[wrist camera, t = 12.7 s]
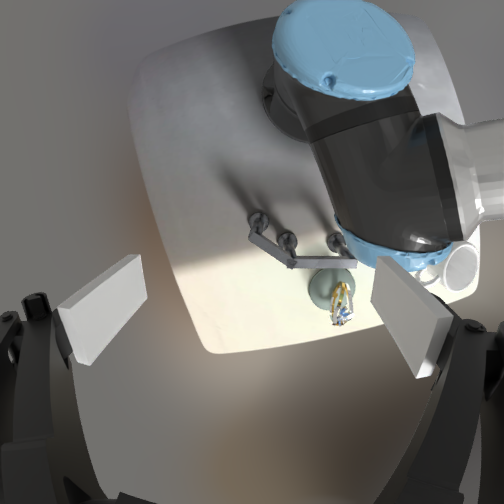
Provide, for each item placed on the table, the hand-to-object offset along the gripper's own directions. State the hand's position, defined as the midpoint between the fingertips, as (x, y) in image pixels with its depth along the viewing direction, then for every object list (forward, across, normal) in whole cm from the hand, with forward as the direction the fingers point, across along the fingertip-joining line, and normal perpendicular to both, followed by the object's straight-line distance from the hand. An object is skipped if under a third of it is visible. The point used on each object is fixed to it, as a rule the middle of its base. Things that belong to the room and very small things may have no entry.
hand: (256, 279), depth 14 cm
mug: (+29, +29, -8) cm, 41 cm away
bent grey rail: (+29, +5, -4) cm, 29 cm away
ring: (+28, +11, -15) cm, 34 cm away
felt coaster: (+29, +11, -14) cm, 34 cm away
